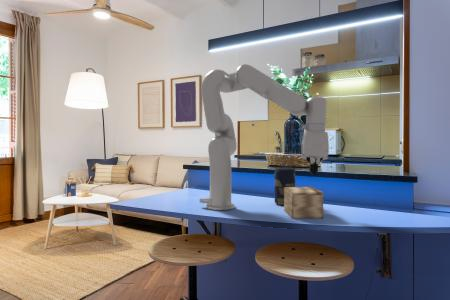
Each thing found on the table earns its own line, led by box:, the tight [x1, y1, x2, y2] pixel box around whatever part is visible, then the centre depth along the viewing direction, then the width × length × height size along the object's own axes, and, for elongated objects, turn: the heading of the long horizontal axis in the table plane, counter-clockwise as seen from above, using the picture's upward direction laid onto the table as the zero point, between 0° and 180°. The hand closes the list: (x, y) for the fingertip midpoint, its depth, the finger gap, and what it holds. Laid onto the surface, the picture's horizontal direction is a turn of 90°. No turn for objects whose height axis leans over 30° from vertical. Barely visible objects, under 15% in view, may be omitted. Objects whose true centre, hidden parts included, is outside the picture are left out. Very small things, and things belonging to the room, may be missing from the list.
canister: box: [274, 165, 296, 206], centre depth 151 cm, size 10×10×18 cm
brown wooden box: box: [283, 189, 324, 219], centre depth 131 cm, size 12×14×9 cm
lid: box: [284, 186, 324, 195], centre depth 131 cm, size 12×14×1 cm
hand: (313, 173), depth 131 cm, fingers closed
